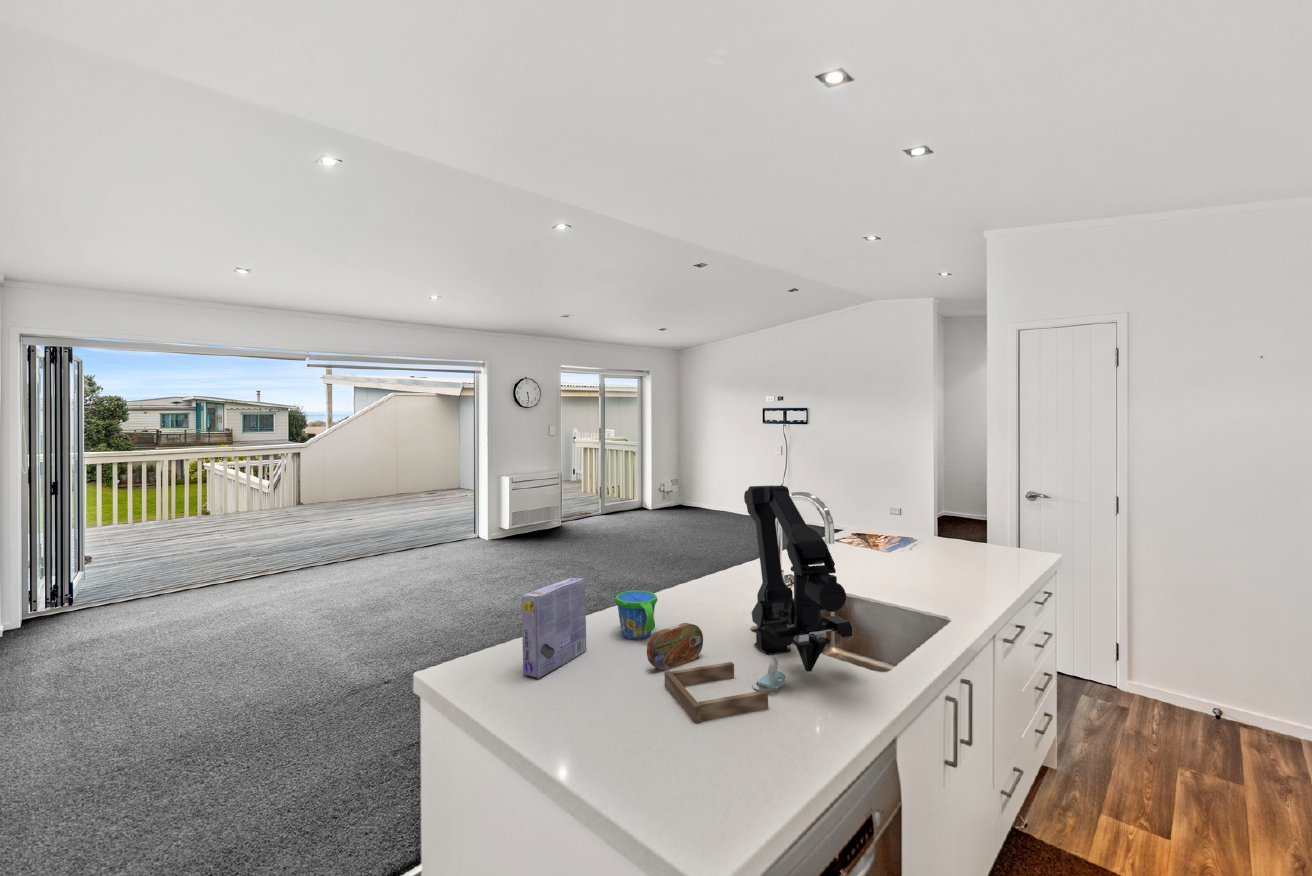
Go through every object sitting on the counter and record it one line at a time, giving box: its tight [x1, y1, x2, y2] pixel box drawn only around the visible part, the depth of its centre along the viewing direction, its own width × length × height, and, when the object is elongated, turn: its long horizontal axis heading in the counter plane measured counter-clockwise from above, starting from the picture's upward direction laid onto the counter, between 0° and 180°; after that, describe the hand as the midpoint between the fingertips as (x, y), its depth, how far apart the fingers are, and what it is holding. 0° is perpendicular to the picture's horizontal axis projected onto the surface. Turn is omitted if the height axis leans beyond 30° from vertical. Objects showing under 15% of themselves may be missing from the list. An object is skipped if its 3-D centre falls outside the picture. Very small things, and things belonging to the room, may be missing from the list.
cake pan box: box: [521, 577, 587, 679], centre depth 133 cm, size 19×5×18 cm, turn 152°
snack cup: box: [614, 590, 658, 640], centre depth 150 cm, size 16×10×10 cm
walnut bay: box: [663, 661, 769, 724], centre depth 115 cm, size 15×16×3 cm
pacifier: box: [751, 657, 786, 692], centre depth 120 cm, size 7×6×6 cm
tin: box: [646, 622, 704, 671], centre depth 132 cm, size 15×3×8 cm, turn 128°
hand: (808, 671), depth 122 cm, fingers closed
